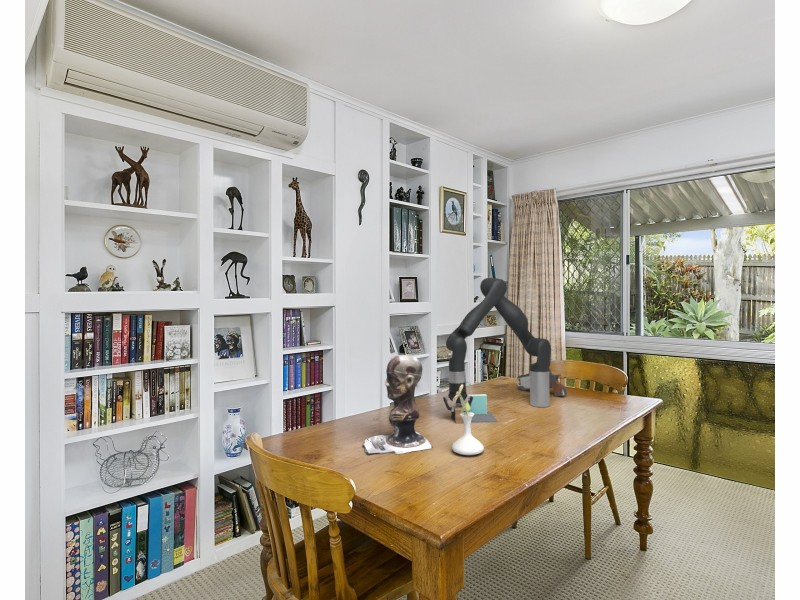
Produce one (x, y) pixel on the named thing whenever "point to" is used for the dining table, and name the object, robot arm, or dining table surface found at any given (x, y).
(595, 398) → the dining table surface
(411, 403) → the head bust
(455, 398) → the flower in vase
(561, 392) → the gun
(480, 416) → the mat
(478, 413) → the tile
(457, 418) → the brown rectangular block
